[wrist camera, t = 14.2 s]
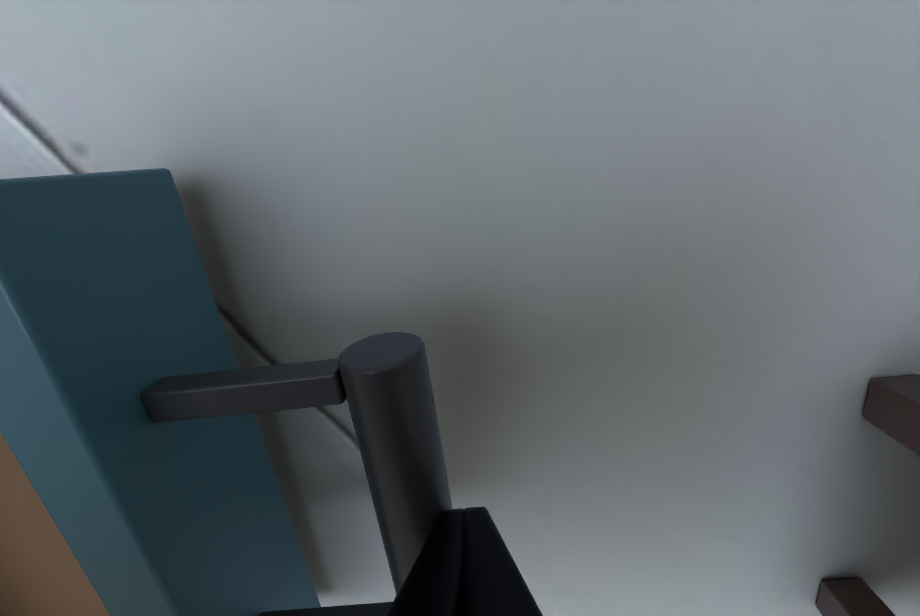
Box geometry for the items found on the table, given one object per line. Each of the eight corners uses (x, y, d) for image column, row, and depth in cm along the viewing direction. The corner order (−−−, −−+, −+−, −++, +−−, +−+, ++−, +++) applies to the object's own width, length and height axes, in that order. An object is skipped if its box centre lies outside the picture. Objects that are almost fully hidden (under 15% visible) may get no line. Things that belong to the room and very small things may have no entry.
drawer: (409, 134, 8) (365, 125, 4) (483, 616, 13) (491, 799, 9) (-480, 255, 9) (-1088, 324, 6) (-110, 660, 14) (-310, 838, 10)
